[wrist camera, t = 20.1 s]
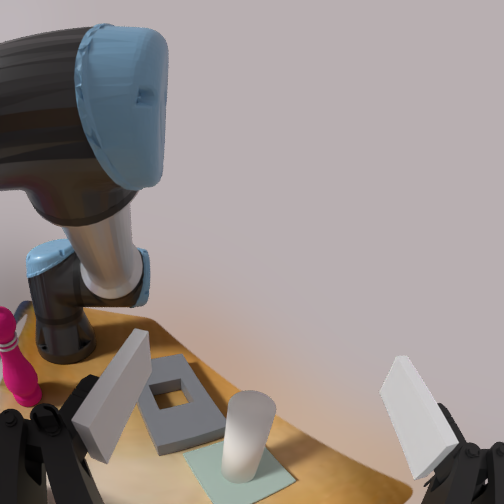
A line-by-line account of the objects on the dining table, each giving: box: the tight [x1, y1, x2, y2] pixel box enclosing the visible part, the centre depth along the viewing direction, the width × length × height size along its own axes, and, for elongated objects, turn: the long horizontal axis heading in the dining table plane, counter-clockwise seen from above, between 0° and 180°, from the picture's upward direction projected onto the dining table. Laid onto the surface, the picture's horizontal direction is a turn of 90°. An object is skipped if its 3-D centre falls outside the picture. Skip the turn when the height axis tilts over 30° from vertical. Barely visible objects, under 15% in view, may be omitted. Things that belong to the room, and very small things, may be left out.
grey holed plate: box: [137, 354, 226, 456], centre depth 42 cm, size 20×12×3 cm, turn 32°
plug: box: [221, 390, 276, 484], centre depth 29 cm, size 5×5×16 cm
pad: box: [183, 441, 296, 504], centre depth 31 cm, size 12×12×1 cm
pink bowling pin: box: [0, 306, 42, 407], centre depth 30 cm, size 7×7×20 cm
